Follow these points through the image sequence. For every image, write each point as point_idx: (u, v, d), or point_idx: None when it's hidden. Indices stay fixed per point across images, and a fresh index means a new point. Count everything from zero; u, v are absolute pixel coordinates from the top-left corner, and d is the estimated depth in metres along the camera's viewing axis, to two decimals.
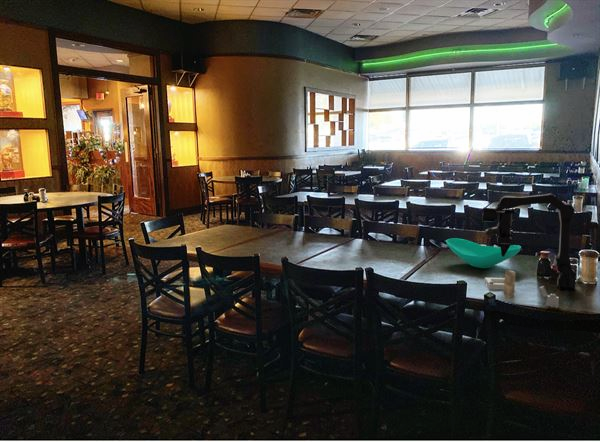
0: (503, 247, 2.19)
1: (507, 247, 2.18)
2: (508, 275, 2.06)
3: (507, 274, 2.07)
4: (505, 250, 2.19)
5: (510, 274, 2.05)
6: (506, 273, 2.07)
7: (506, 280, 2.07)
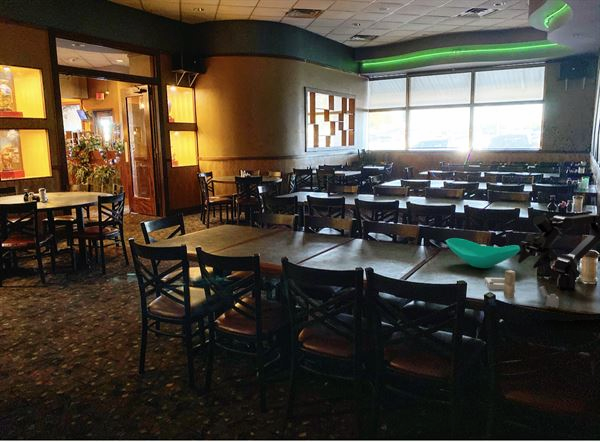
0: (542, 260, 2.04)
1: (545, 262, 2.04)
2: (508, 275, 2.06)
3: (506, 274, 2.07)
4: (541, 263, 2.04)
5: (510, 274, 2.05)
6: (506, 273, 2.07)
7: (506, 280, 2.07)
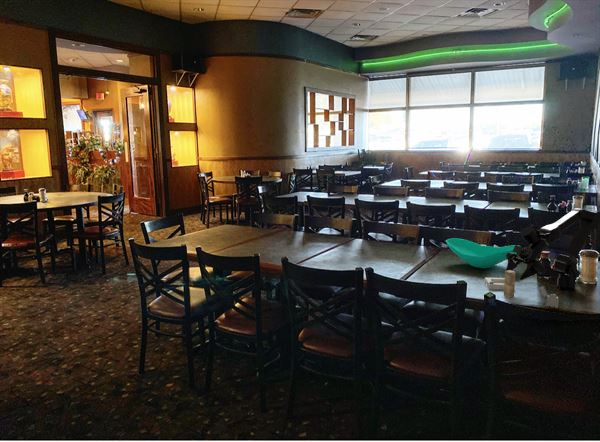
0: (528, 271, 2.03)
1: (531, 274, 2.03)
2: (508, 275, 2.06)
3: (506, 274, 2.07)
4: (527, 275, 2.03)
5: (510, 274, 2.05)
6: (506, 273, 2.07)
7: (506, 280, 2.07)
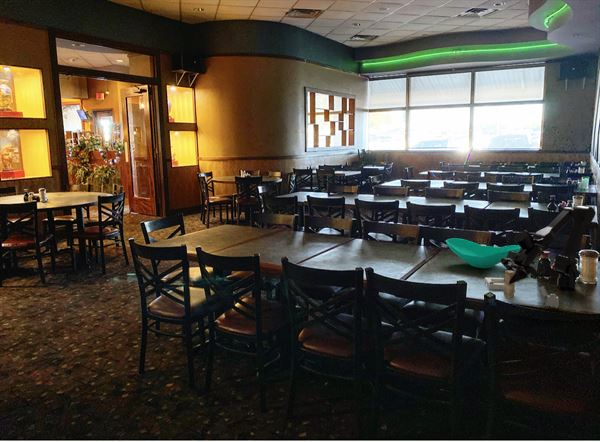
0: (517, 275, 2.05)
1: (521, 278, 2.05)
2: (508, 275, 2.06)
3: (506, 274, 2.07)
4: (517, 279, 2.05)
5: (510, 274, 2.05)
6: (506, 273, 2.07)
7: (506, 280, 2.07)
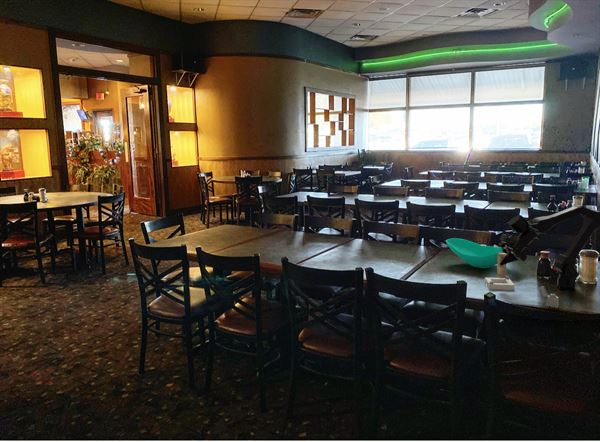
0: (508, 257, 2.13)
1: (512, 260, 2.12)
2: (499, 257, 2.15)
3: (498, 256, 2.16)
4: (507, 261, 2.13)
5: (500, 256, 2.14)
6: (498, 255, 2.16)
7: (498, 262, 2.16)
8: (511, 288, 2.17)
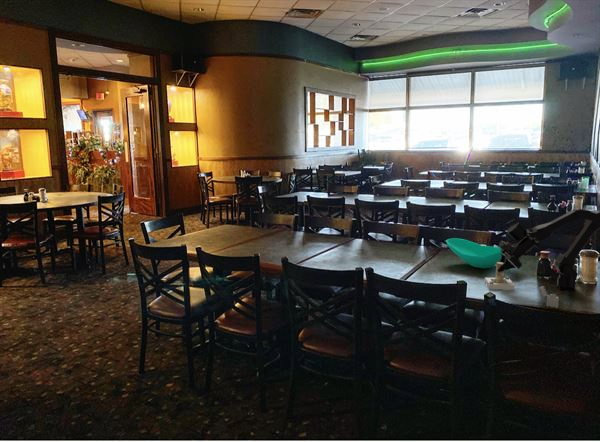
0: (506, 265, 2.17)
1: (509, 267, 2.17)
2: (497, 266, 2.21)
3: (496, 265, 2.22)
4: (505, 268, 2.18)
5: (498, 265, 2.20)
6: (496, 264, 2.22)
7: (496, 271, 2.22)
8: (511, 288, 2.17)
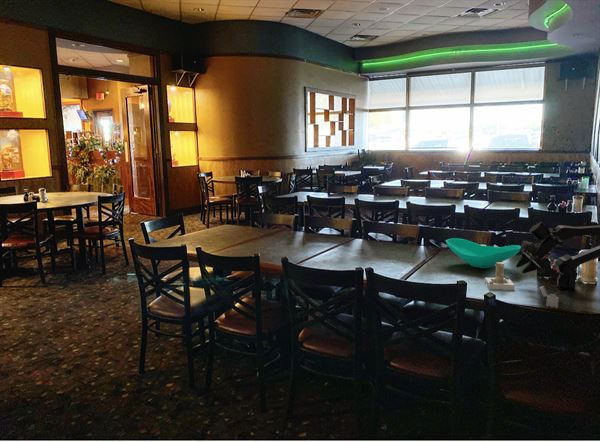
0: (530, 266, 2.13)
1: (534, 269, 2.13)
2: (497, 266, 2.21)
3: (496, 265, 2.22)
4: (530, 270, 2.14)
5: (497, 265, 2.20)
6: (496, 264, 2.22)
7: (496, 271, 2.22)
8: (511, 288, 2.17)
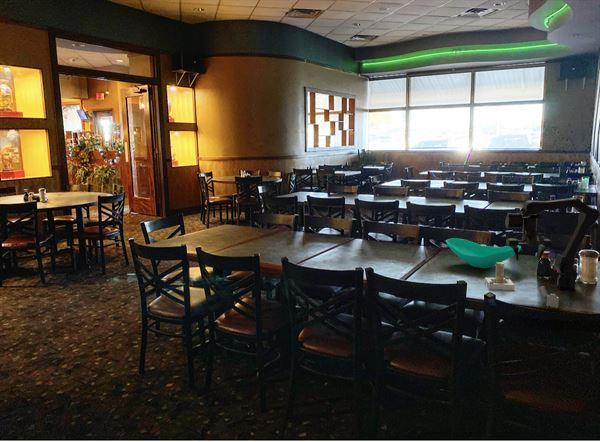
0: None
1: None
2: (497, 266, 2.21)
3: (496, 265, 2.22)
4: None
5: (497, 265, 2.20)
6: (496, 264, 2.22)
7: (496, 271, 2.22)
8: (511, 288, 2.17)
